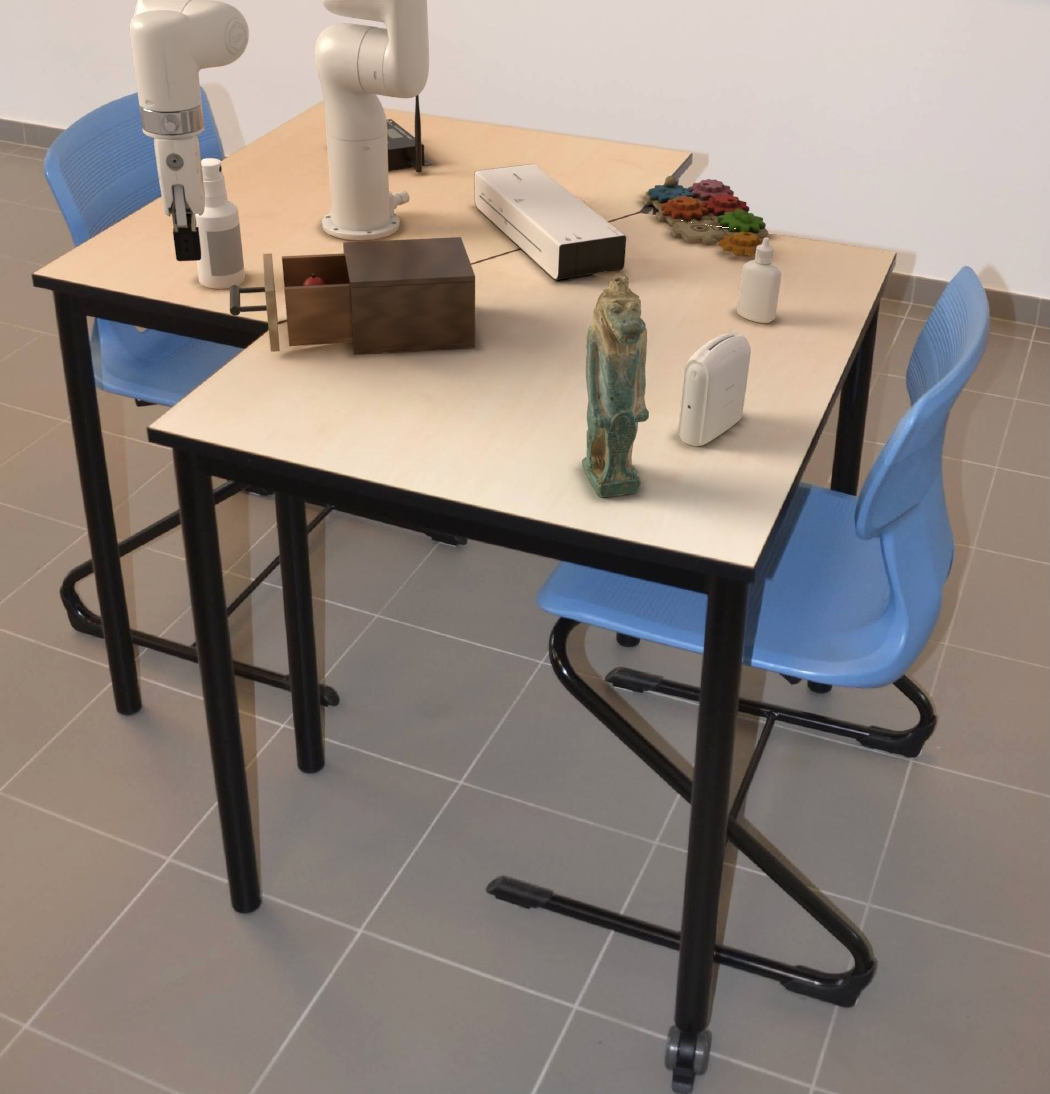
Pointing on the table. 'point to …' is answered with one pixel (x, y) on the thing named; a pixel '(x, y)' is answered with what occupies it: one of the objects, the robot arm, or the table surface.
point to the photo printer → (714, 389)
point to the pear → (313, 281)
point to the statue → (615, 389)
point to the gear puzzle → (707, 215)
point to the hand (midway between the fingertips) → (189, 258)
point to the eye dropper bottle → (759, 286)
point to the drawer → (305, 300)
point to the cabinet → (410, 295)
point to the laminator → (548, 222)
